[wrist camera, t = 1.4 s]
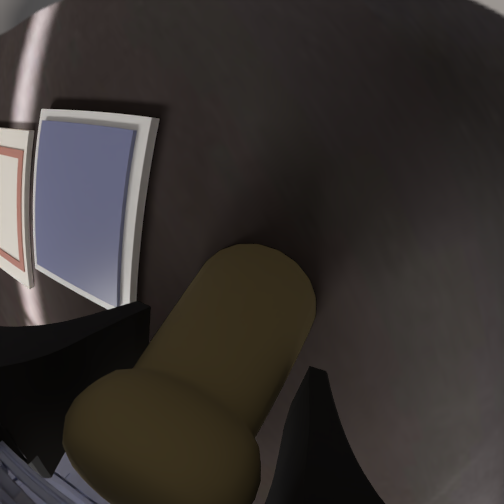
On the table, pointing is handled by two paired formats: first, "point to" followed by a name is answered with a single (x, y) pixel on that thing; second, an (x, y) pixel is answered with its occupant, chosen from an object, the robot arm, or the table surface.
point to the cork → (197, 388)
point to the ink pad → (92, 200)
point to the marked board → (15, 203)
